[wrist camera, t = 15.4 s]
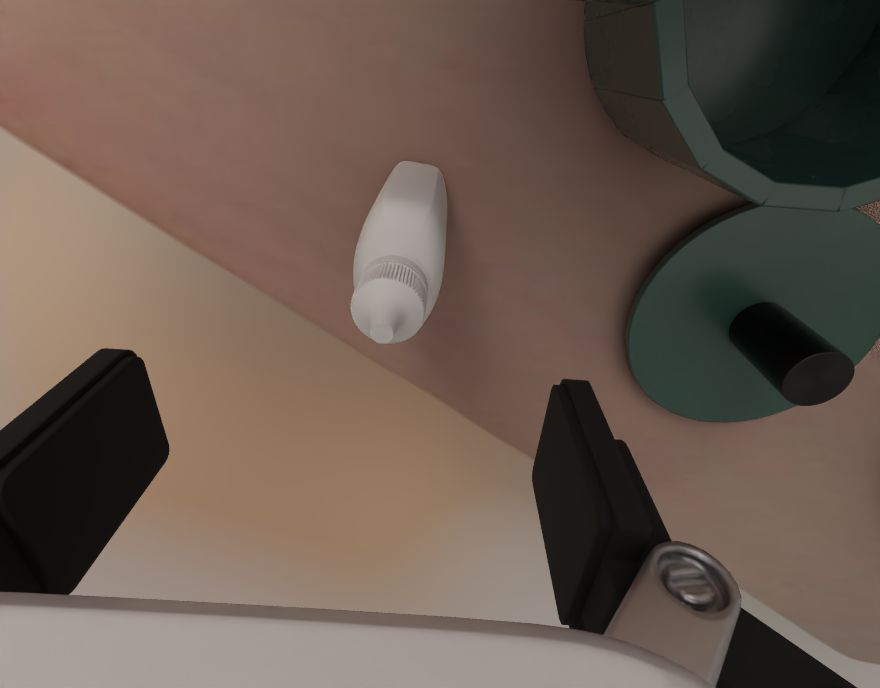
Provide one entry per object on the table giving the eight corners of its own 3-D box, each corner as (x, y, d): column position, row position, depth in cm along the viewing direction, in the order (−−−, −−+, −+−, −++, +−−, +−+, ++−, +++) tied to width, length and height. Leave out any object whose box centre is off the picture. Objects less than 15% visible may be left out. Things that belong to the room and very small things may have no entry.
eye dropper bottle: (347, 233, 25) (271, 356, 14) (411, 142, 22) (373, 213, 12) (414, 281, 26) (387, 426, 16) (481, 201, 24) (500, 309, 13)
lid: (663, 182, 23) (726, 219, 18) (938, 203, 23) (1082, 246, 18) (597, 402, 30) (627, 476, 25) (808, 417, 30) (883, 494, 25)
